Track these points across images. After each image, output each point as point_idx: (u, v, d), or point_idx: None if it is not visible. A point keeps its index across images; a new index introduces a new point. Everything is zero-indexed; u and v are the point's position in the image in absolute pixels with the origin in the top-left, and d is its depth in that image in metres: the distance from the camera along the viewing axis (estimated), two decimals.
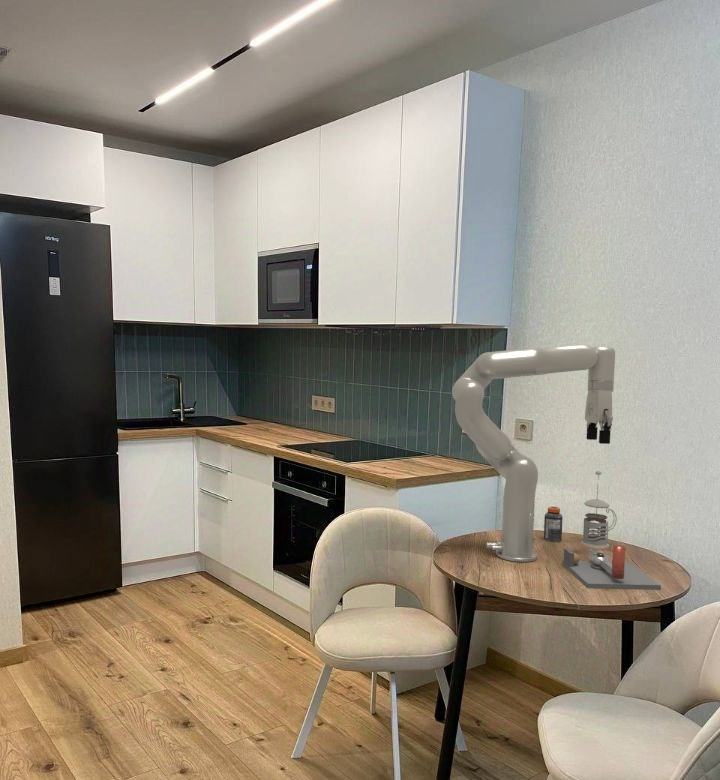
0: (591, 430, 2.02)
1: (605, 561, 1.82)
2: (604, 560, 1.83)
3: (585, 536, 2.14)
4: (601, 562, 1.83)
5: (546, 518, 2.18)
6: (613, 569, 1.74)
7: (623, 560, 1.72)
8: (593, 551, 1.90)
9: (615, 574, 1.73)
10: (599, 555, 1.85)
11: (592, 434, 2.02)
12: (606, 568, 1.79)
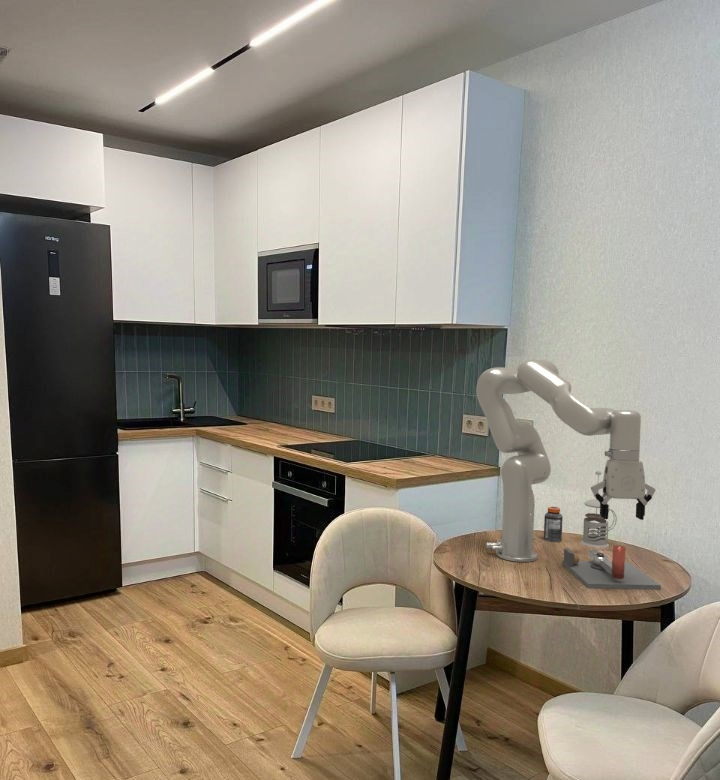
0: None
1: (605, 561, 1.82)
2: (604, 560, 1.83)
3: (585, 536, 2.14)
4: (601, 562, 1.83)
5: (546, 518, 2.18)
6: (613, 569, 1.74)
7: (623, 560, 1.72)
8: (593, 551, 1.90)
9: (615, 574, 1.73)
10: (599, 555, 1.85)
11: None
12: (606, 568, 1.79)
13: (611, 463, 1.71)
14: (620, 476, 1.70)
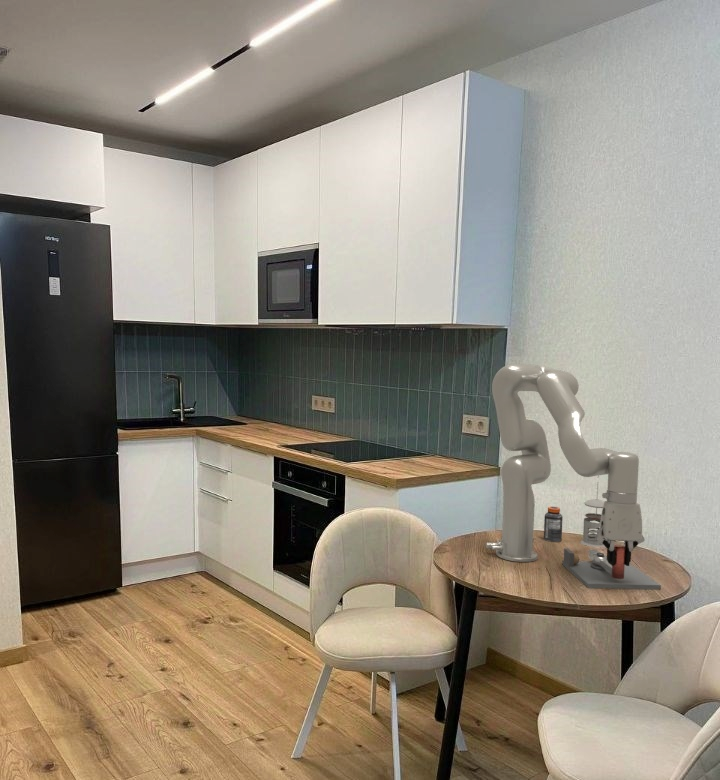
0: None
1: (605, 561, 1.82)
2: (604, 560, 1.83)
3: (585, 536, 2.14)
4: (601, 562, 1.83)
5: (546, 518, 2.18)
6: (613, 569, 1.74)
7: (623, 560, 1.72)
8: (593, 551, 1.90)
9: (615, 574, 1.73)
10: (599, 555, 1.85)
11: None
12: (606, 568, 1.79)
13: (608, 505, 1.71)
14: (617, 519, 1.70)
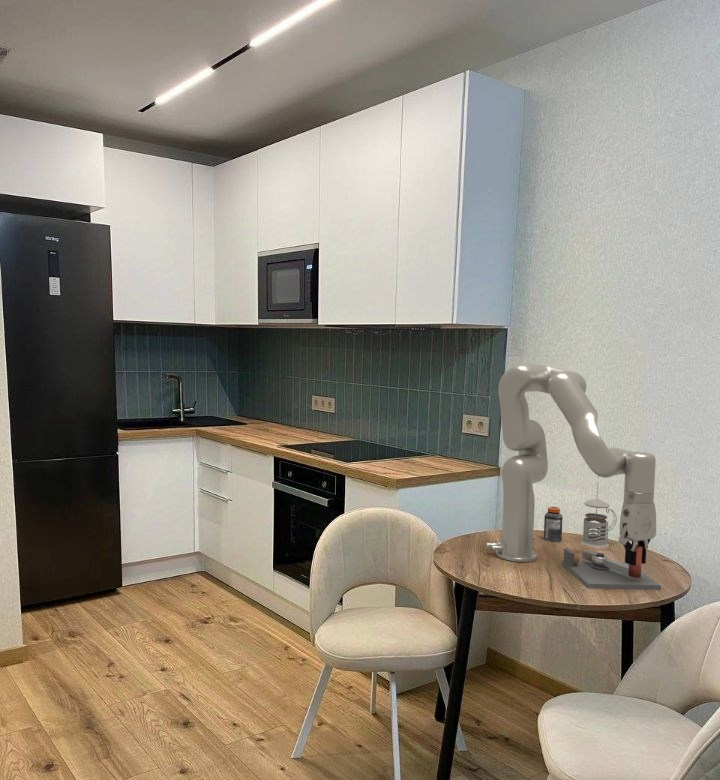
0: None
1: (611, 561, 1.82)
2: (608, 560, 1.83)
3: (585, 536, 2.14)
4: (606, 562, 1.83)
5: (546, 518, 2.18)
6: (632, 569, 1.74)
7: (641, 559, 1.74)
8: (588, 551, 1.89)
9: (635, 574, 1.74)
10: (601, 555, 1.85)
11: None
12: (616, 568, 1.80)
13: (633, 506, 1.71)
14: (641, 519, 1.71)
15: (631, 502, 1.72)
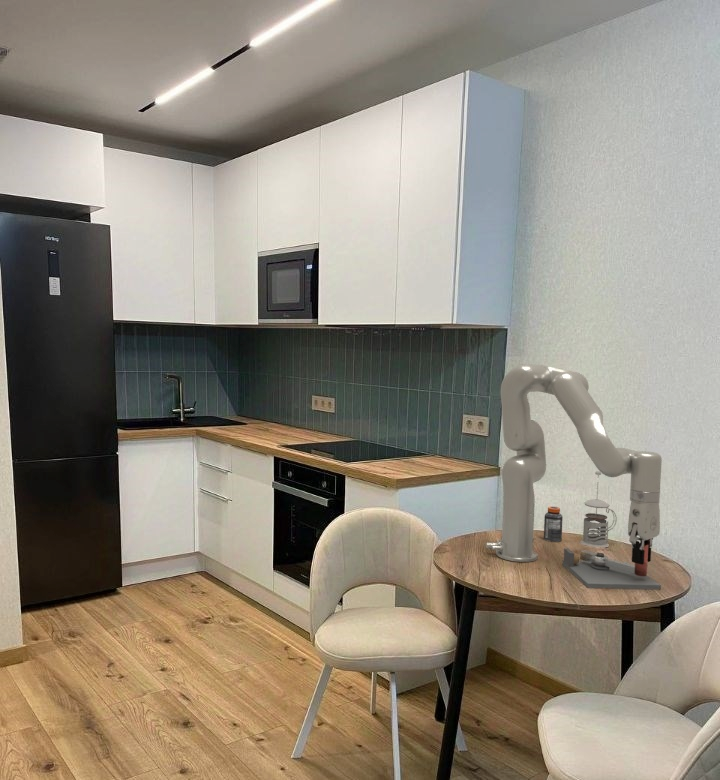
0: None
1: (613, 560, 1.83)
2: (610, 559, 1.83)
3: (585, 536, 2.14)
4: (608, 562, 1.83)
5: (546, 518, 2.18)
6: (639, 568, 1.76)
7: (647, 557, 1.76)
8: (587, 552, 1.88)
9: (642, 572, 1.75)
10: (601, 555, 1.85)
11: None
12: (620, 567, 1.80)
13: (643, 506, 1.72)
14: (650, 518, 1.73)
15: (640, 502, 1.73)
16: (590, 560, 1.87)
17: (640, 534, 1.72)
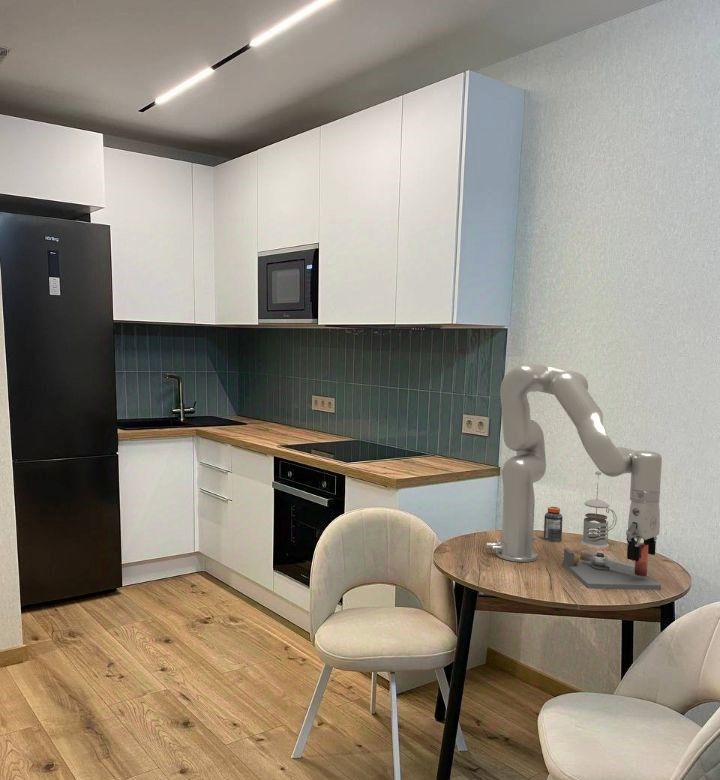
0: None
1: (613, 560, 1.83)
2: (610, 559, 1.83)
3: (585, 536, 2.14)
4: (608, 562, 1.83)
5: (546, 518, 2.18)
6: (639, 568, 1.76)
7: (647, 557, 1.76)
8: (587, 552, 1.88)
9: (642, 572, 1.75)
10: (601, 555, 1.85)
11: None
12: (620, 567, 1.80)
13: (643, 505, 1.72)
14: (650, 517, 1.73)
15: (640, 501, 1.73)
16: (590, 560, 1.87)
17: (640, 534, 1.72)
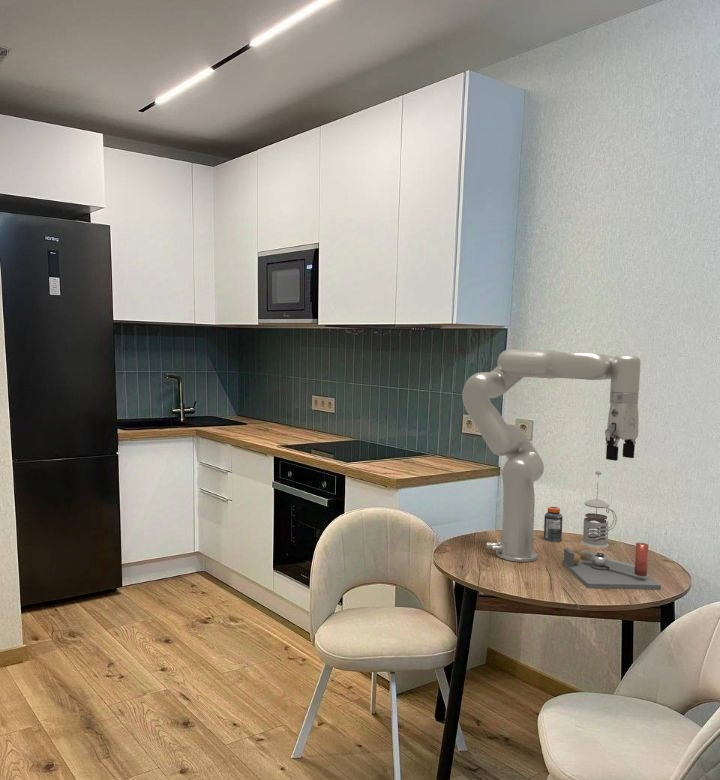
0: None
1: (613, 560, 1.83)
2: (610, 559, 1.83)
3: (585, 536, 2.14)
4: (608, 562, 1.83)
5: (546, 518, 2.18)
6: (639, 568, 1.76)
7: (647, 557, 1.76)
8: (587, 552, 1.88)
9: (642, 572, 1.75)
10: (601, 555, 1.85)
11: None
12: (620, 567, 1.80)
13: (622, 406, 1.77)
14: (628, 418, 1.78)
15: (619, 402, 1.78)
16: (590, 560, 1.87)
17: (618, 433, 1.77)
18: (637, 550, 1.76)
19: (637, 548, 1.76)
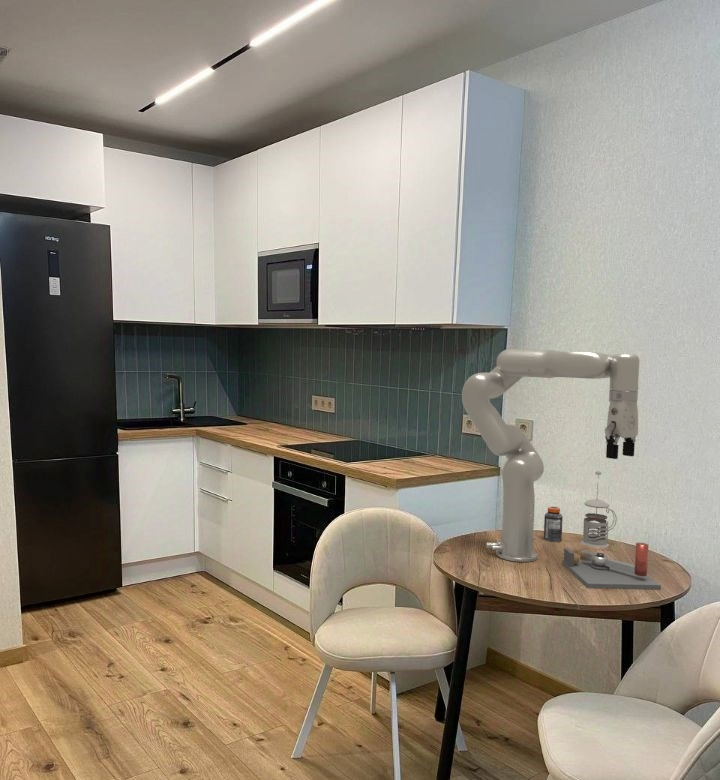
0: None
1: (613, 560, 1.83)
2: (610, 559, 1.83)
3: (585, 536, 2.14)
4: (608, 562, 1.83)
5: (546, 518, 2.18)
6: (639, 568, 1.76)
7: (647, 557, 1.76)
8: (587, 552, 1.88)
9: (642, 572, 1.75)
10: (601, 555, 1.85)
11: None
12: (620, 567, 1.80)
13: (622, 404, 1.77)
14: (628, 416, 1.78)
15: (618, 401, 1.78)
16: (590, 560, 1.87)
17: (618, 432, 1.77)
18: (637, 550, 1.76)
19: (637, 548, 1.76)
